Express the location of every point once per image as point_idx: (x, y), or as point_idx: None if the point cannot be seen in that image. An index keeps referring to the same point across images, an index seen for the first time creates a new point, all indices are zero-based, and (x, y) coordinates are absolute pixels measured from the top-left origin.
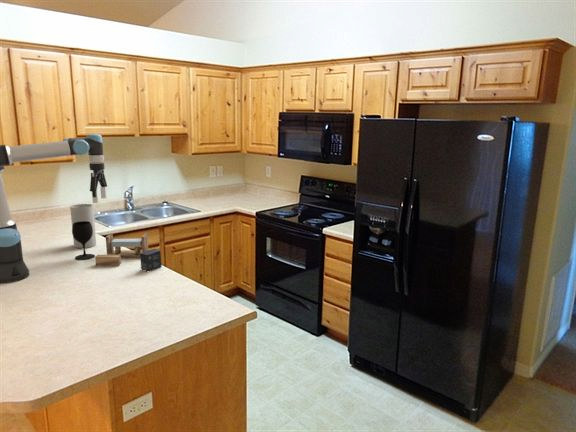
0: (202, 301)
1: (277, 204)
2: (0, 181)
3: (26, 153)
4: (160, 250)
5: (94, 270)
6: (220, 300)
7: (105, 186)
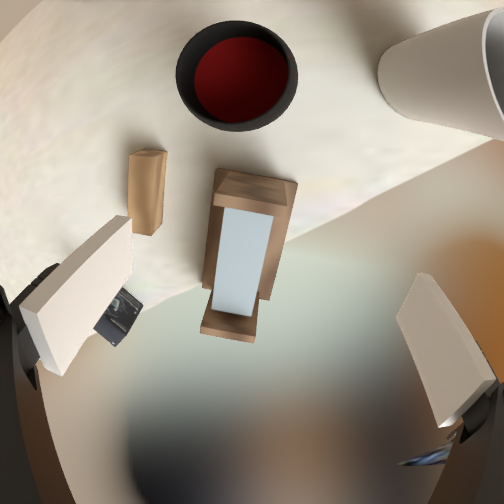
0: None
1: None
2: None
3: None
4: (115, 346)
5: (107, 155)
6: None
7: (456, 430)
